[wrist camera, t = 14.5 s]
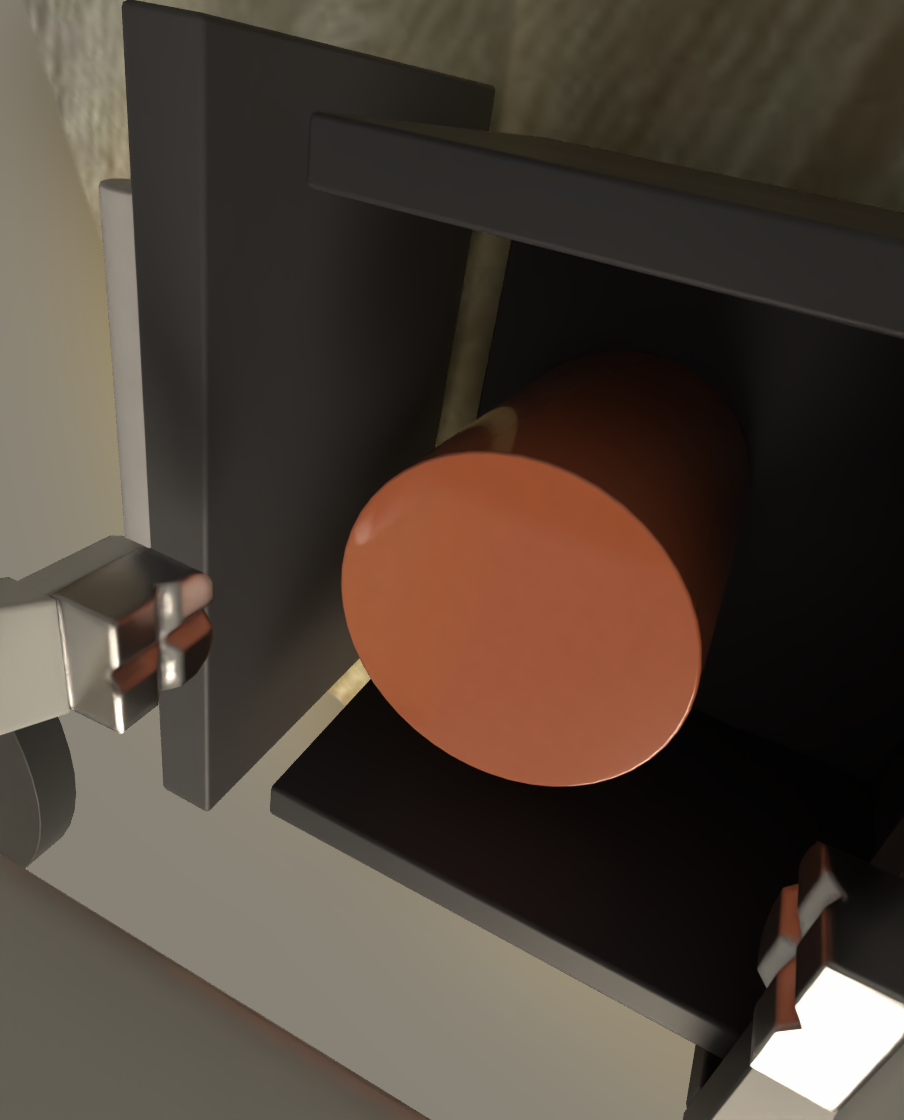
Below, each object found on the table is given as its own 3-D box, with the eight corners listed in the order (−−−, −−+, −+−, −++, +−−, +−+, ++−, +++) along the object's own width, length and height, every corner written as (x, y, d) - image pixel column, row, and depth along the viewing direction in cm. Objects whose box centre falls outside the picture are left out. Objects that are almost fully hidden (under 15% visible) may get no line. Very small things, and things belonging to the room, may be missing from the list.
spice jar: (528, 317, 16) (358, 398, 10) (796, 393, 14) (769, 538, 9) (479, 540, 19) (326, 698, 13) (698, 624, 17) (630, 843, 12)
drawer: (257, 545, 24) (11, 705, 17) (276, 44, 17) (-136, -50, 10) (876, 808, 19) (899, 1202, 11) (1278, 237, 12) (1986, 341, 4)
